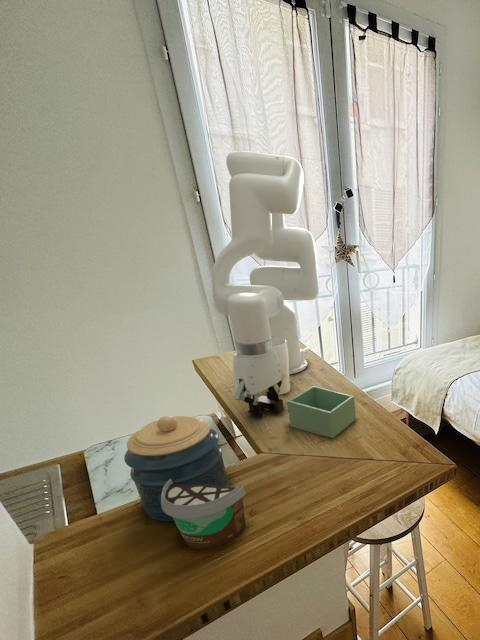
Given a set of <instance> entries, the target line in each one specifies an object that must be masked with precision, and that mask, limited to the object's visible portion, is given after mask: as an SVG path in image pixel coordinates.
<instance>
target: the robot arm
mask: <svg viewBox="0 0 480 640" xmlns="http://www.w3.org/2000/svg"><path fill="white" fill-rule="evenodd" d="M225 162H226V167H227V170H228V173H229V176H230V177H231V178H230V180H229V183H228V192H229V210H230V225H231V226H230V227H231V238H230V239H231V240H230V241H229V243H228V244H227V245H226V246H225V247H224V248H223V249H222V250H221V251H220V252H219V253H218V256H217V257H216V259H215V261H214V263H213V265H212V270H211V287H212V299H213V304H214V307H215V309H216V310H217V312H218V313H220V314H222V315H224V316H227V317H229V321H230V327H231V330H232V331H231V332H232V337H233V342H234V346H235V351H236V353H234V354H233V359H232V371H233V372H232V373H233V380H234V386H235V390H236V391H235V393H234V396H233V399H234V400H237V401H241V402H244V403H246V404H248V410H250V413H249V414H250V416H252V417H255V418H259V419H262V418H263V417H264V414H263V412H262V408H261V404H260V403H258V398H259V397H260V396H259V395H260V393H261V392H264V391H265V390H267V391H266V396H267V397H272V398H277V399H280V397H279V396H280V395H278V393H279V392H280V389H279V388H280V386H281V384H282V381H283V380H284V378H285V376H286V375H285V374H284V373H283V372H282V371H281V368H280V364H279V360H278V356H277V353H276V351H275V349H274V347H273V346H272V340H273V338H281V339H284V340H286V343H287V348H288V357H289V375H294V374H297V373H299V372H302V371H304V370H305V369H306V368H307V367H308V361H307V359H305V358H304V357H305V355H307V354H310V353H311V352H312V349H311V348H310V347H309V346H307V347H305V348H303V349H302V348H301V346H300V339H299V338H300V337H299V329H298V323H297V322H298V321H297V315H296V312H295V310H294V308H293V307H292V306H291V305H290V303H289V302H288V301H313V300H315V299H316V298H318V296H319V292H320V291H319V290H320V289H319V286H320V285H319V272H318V258H317V248H316V243H315V242H316V241H315V238H314V236H313V234H312V232H311V231H310V230H308V229H307V228H302V227H292V226H291V227H290V226H287V225H286V222H285V221H286V220H285V215H294V214H296V213H297V212H298V210H299V208H300V204H301V199H302V194H303V189H304V182H305V181H304V180H305V177H304V175H305V174H304V170H303V167H302V165H301V163H300V162H299V161H298V160H297V159H296V158H294V157H292V156H287V155H281V154H280V155H279V154H271V153H263V152H256V151H245V150H244V151H243V150H238V151H232V152H229V153H228V154H227V155H226V158H225ZM254 254H255V256H256V257H257V258H258V259H260V260H263V261H270V262H284V263H286V262H288V263H297V264H298V265H299V266H283V265H261V266H257V267H255V268H253V269H252V270H251V272H250V273H249V284H231V283H230V274H231V271H232V269H233V267H234V266H235V265H236V264H237V263H239V262H240V261H241V260H243V259H245V258H247V257H249V256H251V255H254Z"/></svg>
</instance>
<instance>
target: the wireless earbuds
mask: <svg viewBox="0 0 480 640" xmlns="http://www.w3.org/2000/svg"><path fill="white" fill-rule="evenodd" d="M258 403H260V404H261V408H262V413H268V414H271V415H280V414H281V413H283V412H284V411H285V406H284V399H282V398H279V399H277V398H272V397H267V395H260V396H259V398H258ZM247 413H248V414H250V409H248V411H247Z"/></svg>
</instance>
